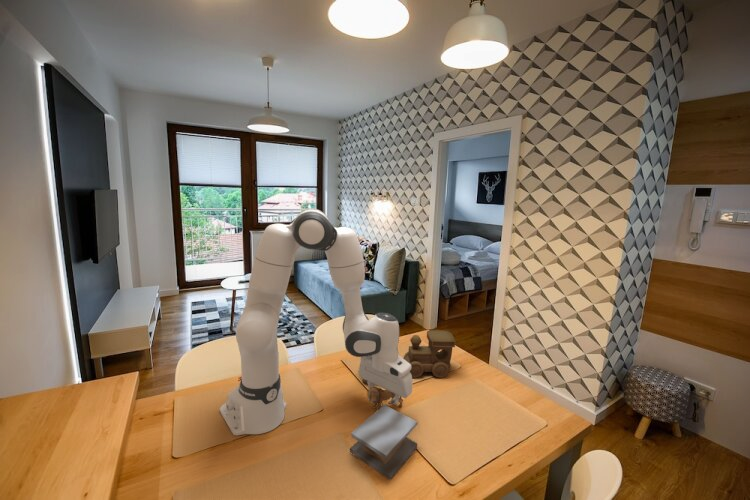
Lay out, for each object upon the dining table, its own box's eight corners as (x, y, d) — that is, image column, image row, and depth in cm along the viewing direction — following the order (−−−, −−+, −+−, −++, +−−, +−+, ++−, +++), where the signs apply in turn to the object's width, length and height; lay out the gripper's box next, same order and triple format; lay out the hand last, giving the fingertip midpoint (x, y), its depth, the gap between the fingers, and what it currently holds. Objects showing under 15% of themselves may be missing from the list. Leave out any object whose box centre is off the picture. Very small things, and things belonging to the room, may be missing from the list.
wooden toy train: (445, 364, 142) (448, 329, 139) (453, 379, 131) (456, 341, 128) (400, 364, 141) (403, 328, 138) (404, 379, 130) (407, 340, 127)
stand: (347, 454, 91) (348, 431, 90) (380, 424, 104) (381, 403, 102) (387, 482, 83) (389, 457, 82) (418, 445, 96) (420, 423, 94)
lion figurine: (370, 418, 106) (372, 394, 105) (363, 409, 111) (364, 385, 109) (406, 405, 114) (408, 382, 112) (398, 397, 118) (399, 374, 117)
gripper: (355, 354, 111) (354, 390, 114) (405, 375, 99) (403, 415, 102) (366, 347, 116) (365, 382, 119) (415, 366, 104) (413, 405, 107)
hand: (383, 397), depth 110 cm, fingers open, 8 cm apart
